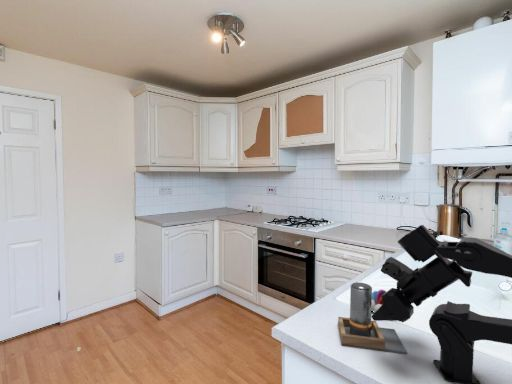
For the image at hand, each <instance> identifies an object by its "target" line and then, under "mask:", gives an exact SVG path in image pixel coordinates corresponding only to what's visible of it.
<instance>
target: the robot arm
mask: <svg viewBox="0 0 512 384" xmlns="http://www.w3.org/2000/svg"><path fill="white" fill-rule="evenodd" d="M397 243H398V244H399V246H400V247H401V249H403V250H404V251H405V252H406V253H407V254H408V255H409V256H410V258H412V259H413V261H414V262H419V263H420V262H422V263H424V262H427V261H429V259H431V258H432V257H434V256H436V257H435V258H434V259H432V260H430V261H429V262H427V263H426V264H424V265H423V266H422V267H417V268H414V269H412V268H411V267H409V266H408V265H406V264H405V263H403V262H401V261H400V260H398V259H396V258H395V257H393V256H390V257H388V258H386V259H385V261H384V263H383V264H382V265H381V268H380V271H381V272H382V274H384V275H387V276H389V277H390V278H392V279H394V280H395V281H396V288H394V287H391V288H390V289H389V290H387V291H386V293H385V294H383V295H382V301H383V304H382V306H381V307H380V308H379V309H378V310H377V311H376V312H375V313H374V312H373V314H371V319H372V321H376V322H378V321H379V322H380V321H399V322H401V323H404V322H407V321H408V320H410V319H411V318H412V316H413V315H414V309H415V308H414V306H413V304H414V305H415V306H416V307H419V306H420V305H422V303H423V302H425V301H426V300H428V299H429V298H431V297H432V298H434V297H435V296H437V295H438V293H439V292H441V291H442V290H443V289H445V288H447V287H449V286H450V285H452V284H454V283H455V282H457V281H461V282H462V283H463V285H464V286H465V287H467V288H470V287H471V284H472V275H473V272H474V271H475V272H477V273H478V272H479V273H482V274H487V275H488V274H489V275H497V276H501V277H508V278H509V279H512V254H510V253H508V252H506V251H504V250H502V249H501V248H498V247H497V246H494V245H492V244H489V243H487V242H485V241H484V240H481V239H479V238H477V237H465V238H462V239H461V240H460V241H441V242H440V241H439V240H438V239H437V238H436V237H435V236H434V235H433V234H431V233H430V231H429V230H428V228H427V227H426V226H425V225H424V224H421V225H419V226H418V227H416V228H415V229H413V230H412V231H410V232H407V233H406V234H405V235H403V236H402V237H401V238H400V239H399V240H398V241H397ZM465 269H466V270H465ZM470 308H471V304H469V303H455V302H451V301H449V300H448V301H446V303H441V304H439V305H437V306H435V308H434V309H433V312H432V314H431V316H430V318H429V320H428V325H429V329H430V331H431V332H432V334H434V335H435V336H436V338H437V340H438V343H439V346H440V349H439V350H440V351H439V356H440V357H439V359H433V361H432V363H433V364H434V366H435V367H436V369H437V370H438V371H439V373H440V374H441V376H442V377H443V379H444V380H445V381H447V382H451V383H459V384H460V383H461V384H482V383H481V381H480V380H479V379H478V377H477V376H476V374H474V373H473V371H474V370H473V369H474V352H475V350H474V349H475V348H474V347H475V342H476V341H489V342H495V343H502V344H507V345H512V319H511V318H503V317H495V316H486V315H482V314H479V313H477V312H474V311H472V310H471V309H470Z"/></svg>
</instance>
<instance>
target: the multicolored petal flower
mask: <svg viewBox="0 0 512 384" xmlns="http://www.w3.org/2000/svg"><path fill="white" fill-rule="evenodd" d="M386 292H387V291H386V290H384V289H378V290H374V291H372V309H371V311H374V312H373V314H374V313H375V312H376V311H377V310H378V309H379V308H380V307H381V306H382V304H383V301H382V295H383V294H385V293H386Z"/></svg>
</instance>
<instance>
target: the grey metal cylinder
mask: <svg viewBox="0 0 512 384" xmlns="http://www.w3.org/2000/svg"><path fill="white" fill-rule="evenodd" d="M372 293H373V287H372V286H371V285H370V284H367V283H364V282H353V283H351V284H350V293H349V294H350V295H349V296H350V301H349V302H350V303H349V305H350V306H349V318H350V320H349V324H350V335H358V336H366V337H371V325H372V322H371V321H372V312H371V309H372Z"/></svg>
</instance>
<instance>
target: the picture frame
mask: <svg viewBox="0 0 512 384" xmlns="http://www.w3.org/2000/svg"><path fill="white" fill-rule="evenodd" d="M349 320H350V317H345V316H344V317H342V316H338V320H337V326H338V333H339V339H340V344H341V346H343V347H351V348H359V349H366V350H374V351H381V352H389V353H394V354H395V353H396V354H402V355H403V354H404V355H408V352H407V349H406V347H405V345H404V344H403V342H402V339H400V337H399V335H398V333H397V330H395V328H387V327H379V324H378V321H374V320H371V322H372V325H371V337H366V336H358V335H350V324H349Z"/></svg>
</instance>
